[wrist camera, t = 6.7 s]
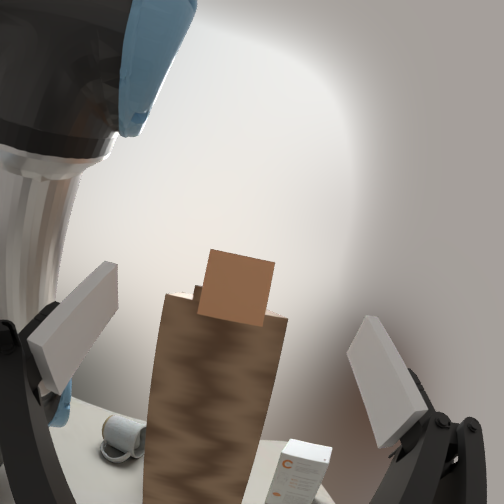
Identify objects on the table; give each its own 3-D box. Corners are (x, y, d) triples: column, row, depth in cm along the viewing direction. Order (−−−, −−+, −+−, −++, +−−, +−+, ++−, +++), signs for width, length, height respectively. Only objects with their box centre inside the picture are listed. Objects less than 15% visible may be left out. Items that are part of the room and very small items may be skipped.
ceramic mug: (117, 434, 45) (117, 406, 46) (149, 448, 44) (152, 420, 45) (91, 453, 34) (89, 423, 35) (127, 471, 33) (127, 442, 34)
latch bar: (197, 313, 12) (210, 248, 13) (214, 297, 36) (218, 275, 36) (262, 326, 12) (275, 262, 13) (236, 302, 36) (241, 280, 36)
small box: (313, 496, 36) (333, 446, 38) (306, 514, 30) (329, 463, 32) (273, 486, 39) (290, 437, 41) (263, 502, 33) (280, 452, 35)
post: (144, 549, 16) (168, 278, 21) (155, 509, 26) (185, 282, 31) (220, 562, 17) (291, 304, 22) (218, 520, 26) (270, 299, 32)
